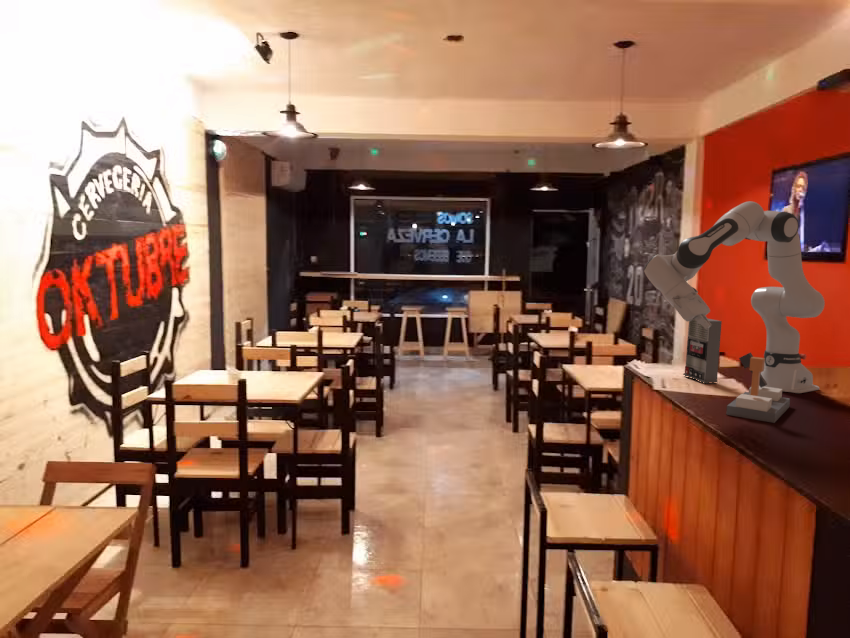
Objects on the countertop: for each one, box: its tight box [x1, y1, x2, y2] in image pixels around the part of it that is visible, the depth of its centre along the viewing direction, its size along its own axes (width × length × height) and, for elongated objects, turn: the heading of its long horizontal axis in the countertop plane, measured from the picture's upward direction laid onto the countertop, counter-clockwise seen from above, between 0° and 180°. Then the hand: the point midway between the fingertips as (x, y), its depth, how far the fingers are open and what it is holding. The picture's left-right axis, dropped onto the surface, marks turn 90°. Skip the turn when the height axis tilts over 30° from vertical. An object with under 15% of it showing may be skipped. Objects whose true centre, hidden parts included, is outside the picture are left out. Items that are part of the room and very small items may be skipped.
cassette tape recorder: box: [683, 317, 723, 384], centre depth 260 cm, size 14×6×25 cm, turn 12°
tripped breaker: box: [748, 356, 765, 396], centre depth 206 cm, size 3×4×12 cm
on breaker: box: [738, 352, 767, 387], centre depth 223 cm, size 3×4×12 cm
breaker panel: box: [725, 386, 791, 424], centre depth 214 cm, size 26×14×6 cm, turn 142°
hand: (708, 327), depth 214 cm, fingers closed
